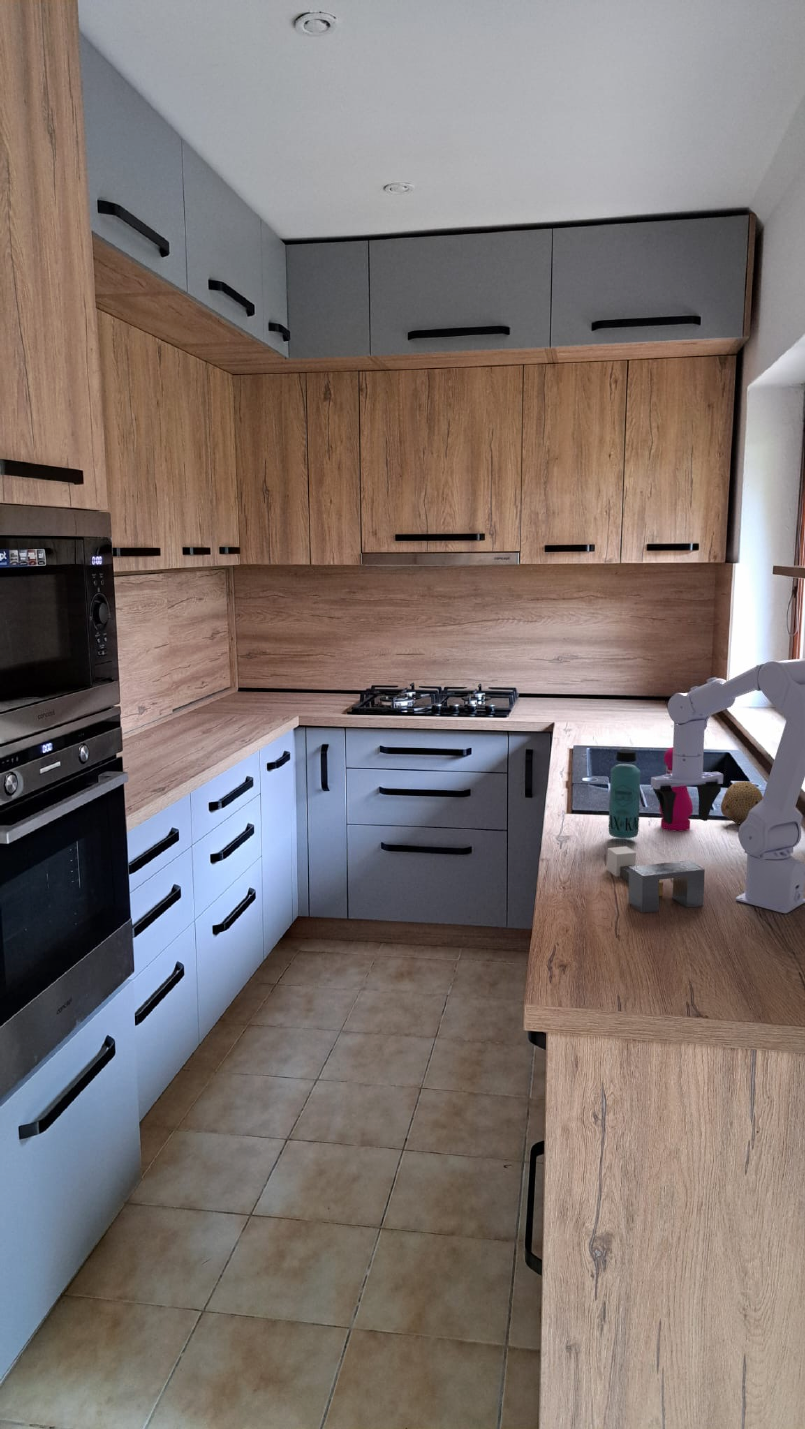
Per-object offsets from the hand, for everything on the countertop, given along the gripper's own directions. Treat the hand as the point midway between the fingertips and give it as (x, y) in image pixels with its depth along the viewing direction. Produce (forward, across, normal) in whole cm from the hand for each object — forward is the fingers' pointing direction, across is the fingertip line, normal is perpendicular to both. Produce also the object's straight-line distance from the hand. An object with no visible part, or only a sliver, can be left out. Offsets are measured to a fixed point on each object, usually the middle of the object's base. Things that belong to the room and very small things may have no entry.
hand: (685, 821), depth 193 cm
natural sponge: (+10, -27, -21) cm, 36 cm away
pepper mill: (+10, -12, -24) cm, 28 cm away
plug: (+9, +13, +5) cm, 17 cm away
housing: (+9, +13, +17) cm, 23 cm away
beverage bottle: (+10, +4, -19) cm, 21 cm away
